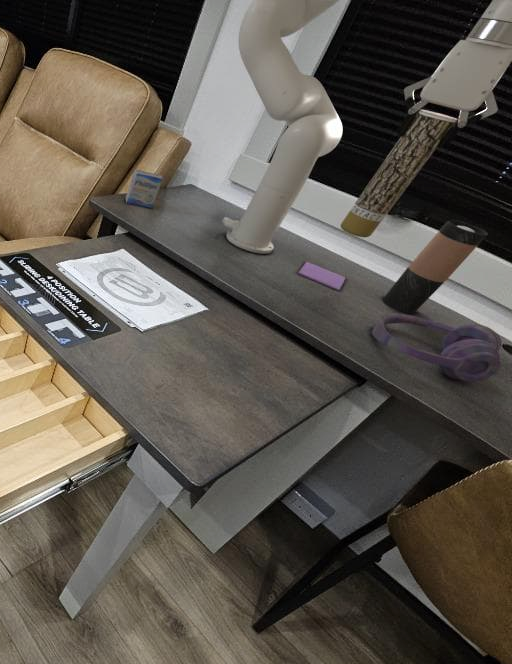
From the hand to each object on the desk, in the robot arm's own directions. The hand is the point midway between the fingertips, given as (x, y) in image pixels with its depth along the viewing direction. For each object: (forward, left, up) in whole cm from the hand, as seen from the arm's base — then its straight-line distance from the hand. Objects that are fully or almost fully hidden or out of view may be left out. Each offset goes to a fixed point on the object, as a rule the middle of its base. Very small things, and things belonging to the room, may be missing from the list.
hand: (419, 140), depth 94 cm
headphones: (+23, -19, -33) cm, 45 cm away
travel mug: (+18, +3, -33) cm, 37 cm away
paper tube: (0, 0, -20) cm, 20 cm away
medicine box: (-53, -1, -33) cm, 62 cm away
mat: (0, +1, -32) cm, 32 cm away
